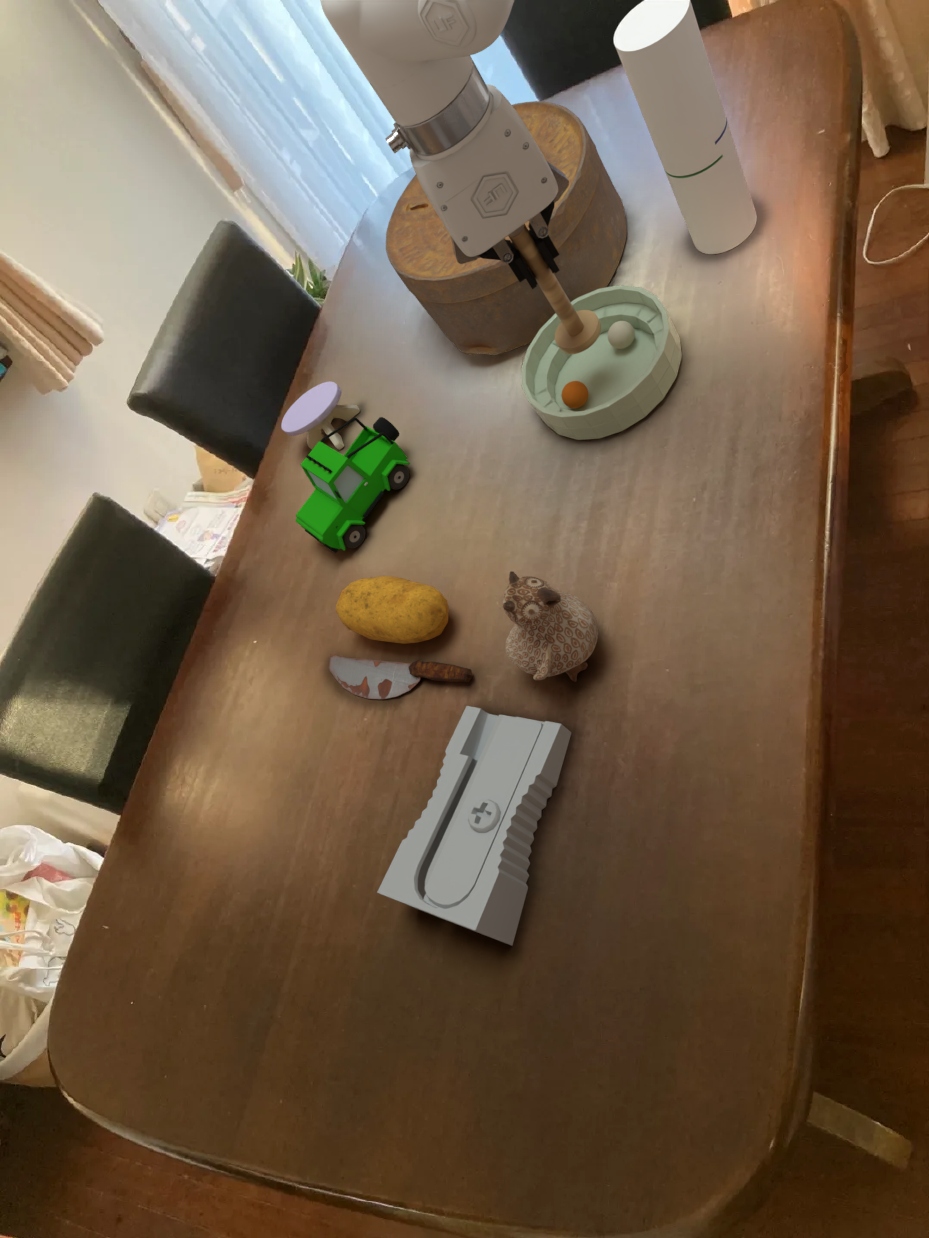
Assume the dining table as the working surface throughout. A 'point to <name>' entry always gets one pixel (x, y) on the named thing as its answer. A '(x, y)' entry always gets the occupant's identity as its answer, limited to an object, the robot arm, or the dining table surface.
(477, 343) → the container
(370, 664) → the kitchen knife
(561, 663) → the figurine
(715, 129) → the cylindrical container
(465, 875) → the wedge sharpener
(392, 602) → the potato
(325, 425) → the toy table
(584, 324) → the wooden peg stand
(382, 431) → the toy car
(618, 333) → the cream ball
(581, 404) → the orange ball
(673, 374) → the bowl
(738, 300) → the dining table surface
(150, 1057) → the dining table surface
